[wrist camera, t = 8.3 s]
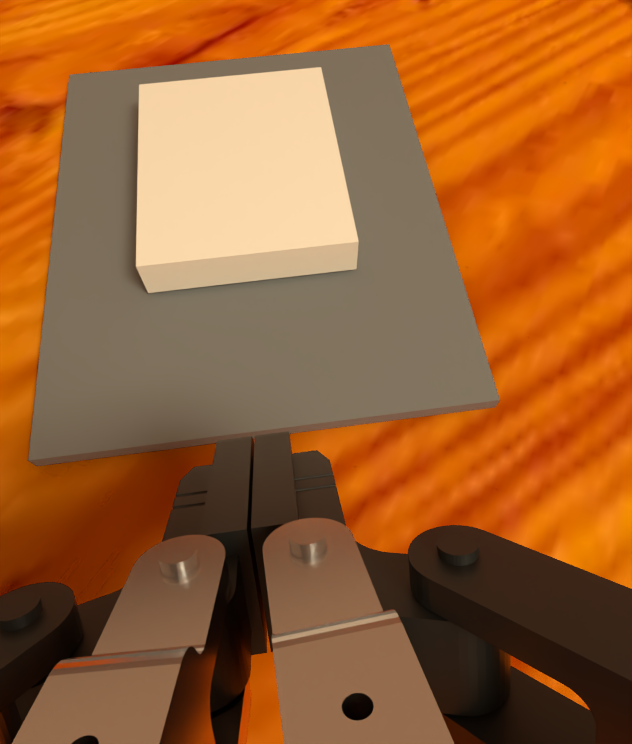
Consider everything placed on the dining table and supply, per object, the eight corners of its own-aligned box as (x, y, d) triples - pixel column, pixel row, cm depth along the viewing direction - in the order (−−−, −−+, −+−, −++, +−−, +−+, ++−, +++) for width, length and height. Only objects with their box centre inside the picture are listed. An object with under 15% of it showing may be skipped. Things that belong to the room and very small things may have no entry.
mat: (495, 407, 20) (499, 400, 20) (36, 466, 19) (28, 460, 19) (388, 55, 29) (389, 44, 29) (73, 85, 28) (69, 74, 28)
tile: (135, 266, 20) (139, 84, 25) (150, 296, 22) (150, 120, 26) (358, 241, 20) (320, 66, 25) (356, 273, 22) (321, 103, 27)
